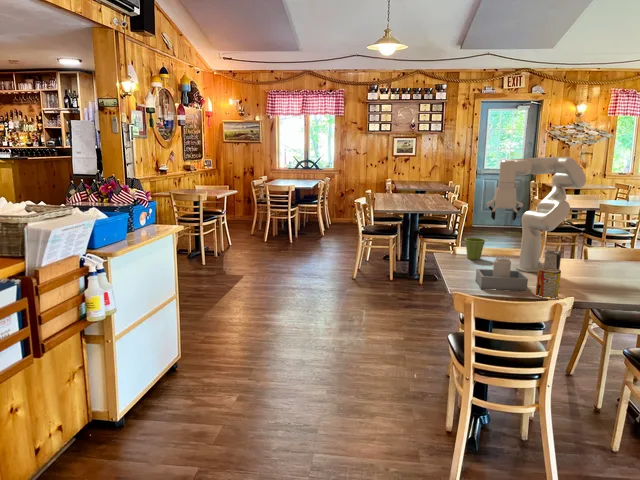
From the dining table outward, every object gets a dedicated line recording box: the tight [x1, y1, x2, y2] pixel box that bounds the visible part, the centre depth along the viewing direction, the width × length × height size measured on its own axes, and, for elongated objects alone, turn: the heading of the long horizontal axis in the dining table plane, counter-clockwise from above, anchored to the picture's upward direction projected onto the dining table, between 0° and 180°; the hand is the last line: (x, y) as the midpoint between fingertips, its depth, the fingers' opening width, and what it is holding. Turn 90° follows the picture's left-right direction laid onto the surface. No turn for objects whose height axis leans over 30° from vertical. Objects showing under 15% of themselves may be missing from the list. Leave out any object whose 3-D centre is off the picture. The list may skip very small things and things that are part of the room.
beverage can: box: [535, 267, 562, 298], centre depth 205 cm, size 9×9×12 cm
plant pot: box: [463, 237, 487, 261], centre depth 272 cm, size 12×12×11 cm
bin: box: [475, 268, 529, 292], centre depth 219 cm, size 20×14×6 cm
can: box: [492, 256, 512, 278], centre depth 219 cm, size 8×8×12 cm
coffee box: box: [543, 249, 562, 270], centre depth 221 cm, size 9×6×16 cm
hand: (503, 219), depth 235 cm, fingers open, 9 cm apart
